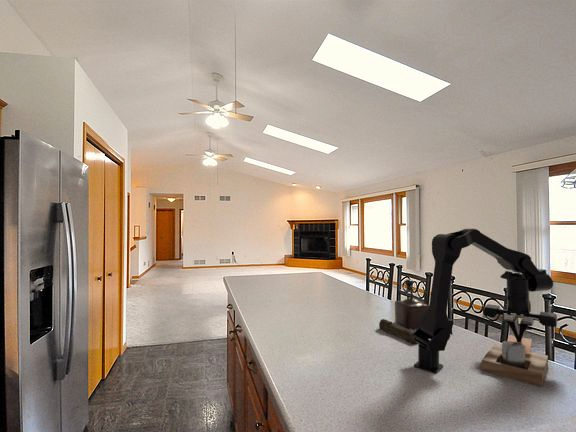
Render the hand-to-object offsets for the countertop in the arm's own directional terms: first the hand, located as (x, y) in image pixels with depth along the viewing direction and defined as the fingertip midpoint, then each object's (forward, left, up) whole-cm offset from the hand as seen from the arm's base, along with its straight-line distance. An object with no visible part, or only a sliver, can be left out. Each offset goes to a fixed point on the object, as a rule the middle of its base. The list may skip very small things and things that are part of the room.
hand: (519, 341), depth 103 cm
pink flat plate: (-1, 0, -1) cm, 2 cm away
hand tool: (-6, +38, -6) cm, 39 cm away
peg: (-12, 0, -6) cm, 13 cm away
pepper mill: (+14, +41, -6) cm, 44 cm away
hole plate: (-8, 0, -6) cm, 10 cm away
